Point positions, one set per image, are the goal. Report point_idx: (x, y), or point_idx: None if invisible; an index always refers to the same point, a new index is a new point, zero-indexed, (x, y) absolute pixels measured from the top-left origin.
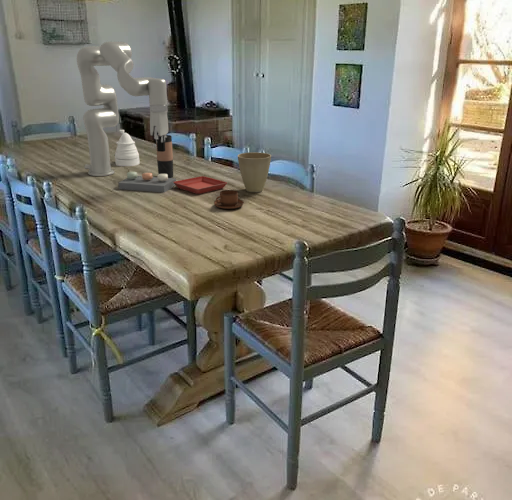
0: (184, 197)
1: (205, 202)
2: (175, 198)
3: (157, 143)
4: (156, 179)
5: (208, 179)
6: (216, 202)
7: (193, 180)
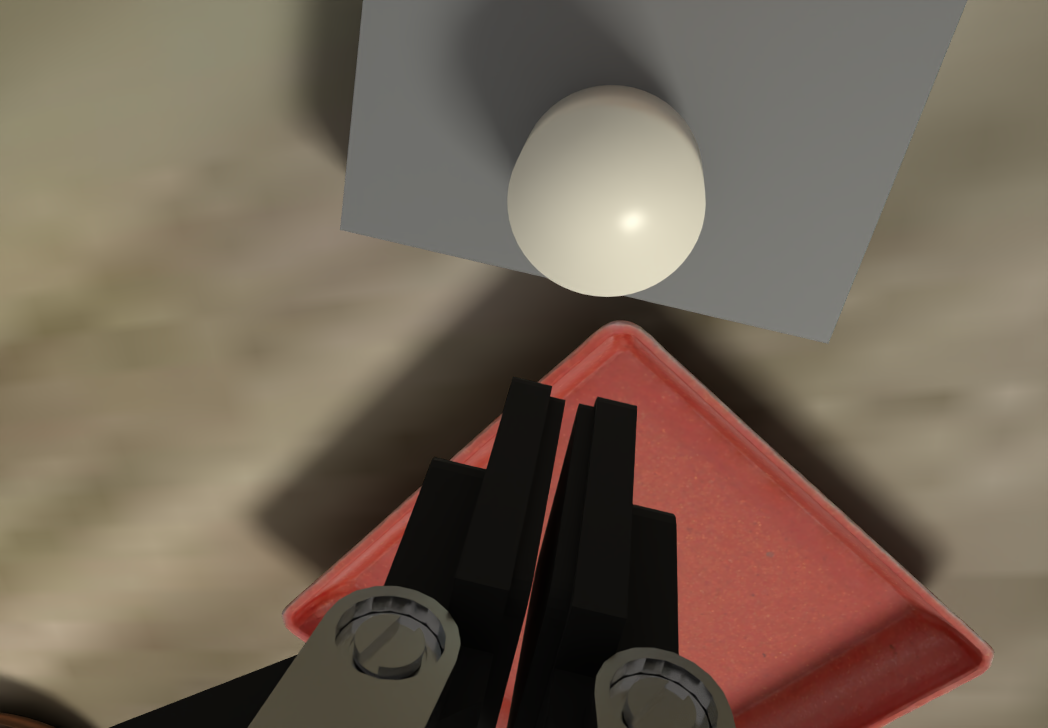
0: (203, 450)
1: (89, 631)
2: (137, 363)
3: (460, 567)
4: (771, 17)
5: (871, 698)
6: (26, 725)
7: (858, 540)
